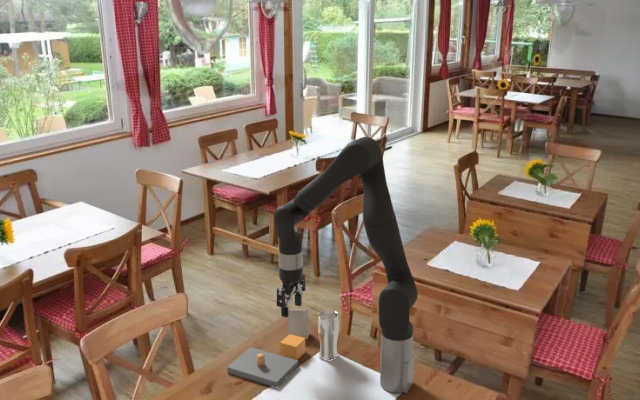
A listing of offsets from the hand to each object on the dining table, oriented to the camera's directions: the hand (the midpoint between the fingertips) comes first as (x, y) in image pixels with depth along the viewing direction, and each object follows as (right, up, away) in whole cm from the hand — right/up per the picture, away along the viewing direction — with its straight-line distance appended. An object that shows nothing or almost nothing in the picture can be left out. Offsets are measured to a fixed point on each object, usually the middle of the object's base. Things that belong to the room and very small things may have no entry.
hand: (291, 310), depth 189 cm
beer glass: (+12, -15, +3) cm, 20 cm away
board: (-9, -18, -4) cm, 20 cm away
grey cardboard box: (+2, -12, +16) cm, 20 cm away
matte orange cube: (0, -15, +5) cm, 16 cm away
